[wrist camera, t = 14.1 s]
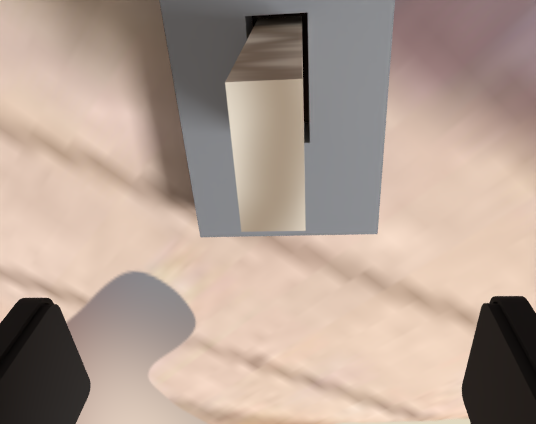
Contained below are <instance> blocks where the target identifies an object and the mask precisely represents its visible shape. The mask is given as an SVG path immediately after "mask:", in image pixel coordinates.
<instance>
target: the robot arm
mask: <svg viewBox="0 0 536 424" xmlns="http://www.w3.org/2000/svg"><path fill="white" fill-rule="evenodd" d="M89 392H90V379H89V377H88V374H87V372H86V370H85V367H84V365H83V362H82V360H81V357H80V355H79V353H78V350H77V348H76V345H75V343H74V341H73V338H72V336H71V333H70V331H69V329H68V326H67V324H66V321H65V319H64V316H63V314H62V312H61V309H60V307H59V306H58V305H57V304H54V303H53V301H52V300H51V299H49V298H22V299H20V300H19V301H18V302H17V303H16V304H15V305H14V307H13V308H12V309H11V310H10V312H9V313H8V314H7V316H6V317H5V318H4V319H3V321H2V322H1V323H0V424H76V422H77V419H78V417H79V415H80V413H81V411H82V409H83V406H84V404H85V402H86V400H87V398H88V395H89ZM462 396H463V401H464V405H465V407H466V410H467V413H468V416H469V419H470V422H471V424H536V313H535V312H534V310H533V308H532V307H531V305H530V303H529V302H528V301H527V299H526V298H525V297H523V296H495V297H492V298H491V300H490V303H484V304H483V305H482V307H481V311H480V315H479V319H478V323H477V327H476V331H475V335H474V339H473V343H472V347H471V351H470V355H469V359H468V364H467V368H466V372H465V376H464V380H463V384H462Z"/></svg>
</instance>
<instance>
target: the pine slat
mask: <svg viewBox="0 0 536 424" xmlns="http://www.w3.org/2000/svg"><path fill="white" fill-rule="evenodd" d="M225 86H226V96H227V105H228V114H229V123H230V132H231V141H232V150H233V159H234V169H235V178H236V187H237V196H238V205H239V214H240V223H241V232H258V231H306V227H305V165H304V104H303V53H302V16H288V17H270V18H258V20H257V22H256V24H255V25H254V27H253V29H252V31H251V33H250V35H249V37H248V39H247V41H246V43H245V45H244V47H243V49H242V50H241V52H240V54H239V56H238V58H237V60H236V62H235V64H234V66H233V68H232V70H231V72H230V74H229V76H228V77H227V79H226V81H225Z"/></svg>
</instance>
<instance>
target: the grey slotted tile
mask: <svg viewBox="0 0 536 424" xmlns="http://www.w3.org/2000/svg"><path fill="white" fill-rule="evenodd" d="M159 1H160V6H161V12H162V18H163V24H164V29H165V35H166V41H167V47H168V52H169V58H170V64H171V70H172V76H173V81H174V87H175V93H176V99H177V104H178V110H179V116H180V122H181V127H182V133H183V139H184V145H185V151H186V156H187V162H188V168H189V174H190V179H191V185H192V191H193V197H194V202H195V208H196V214H197V220H198V225H199V231H200V237H238V236H293V235H347V234H377V233H378V219H379V206H380V193H381V179H382V166H383V153H384V139H385V126H386V112H387V99H388V86H389V72H390V59H391V46H392V32H393V19H394V6H395V0H159ZM306 12H307V36H308V91H309V123H304V165H305V227H306V231H258V232H241V223H240V214H239V205H238V196H237V187H236V178H235V169H234V159H233V150H232V141H231V132H230V123H229V114H228V105H227V96H226V86H225V81H226V79H227V77H228V76H229V74H230V72H231V70H232V68H233V66H234V64H235V62H236V60H237V58H238V56H239V54H240V52H241V50H242V49H243V47H244V45H245V43H246V41H247V39H248V37H249V35H250V33H251V31H252V29H253V25H252V16H257V15H274V14H290V13H306Z"/></svg>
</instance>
